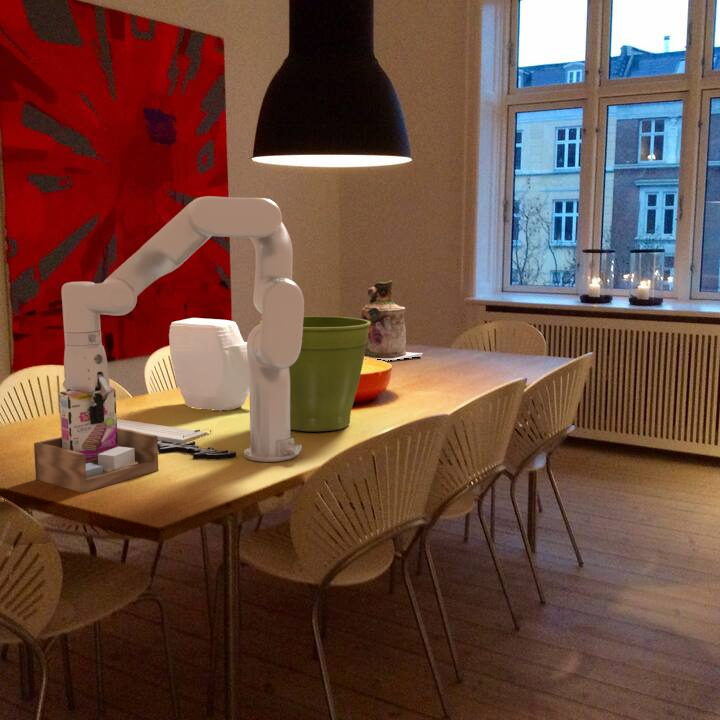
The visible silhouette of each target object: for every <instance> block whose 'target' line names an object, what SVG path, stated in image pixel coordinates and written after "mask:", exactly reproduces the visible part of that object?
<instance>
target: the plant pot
mask: <svg viewBox="0 0 720 720" xmlns="http://www.w3.org/2000/svg"><path fill="white" fill-rule="evenodd" d="M261 323H262V319H261V320H260V321H259V324H261ZM369 326H370V321H367V320H363V319H361V318H355V317H344V316H343V317H342V316H330V315H329V316H327V315H326V316H323V315H322V316H319V315H317V316H316V315H315V316H313V315H311V316H308V315H306V316H305V315H304V318H303V333H302V345H301V351H300V354H299V357H298V359H297V360H296V362H295V363H294V364H293V365H292V366H290V367H289V371H290V427H291V430H293V431H297V432H298V431H299V432H312V433H314V432H315V433H316V432H331V431H336V430H341V429H344V428H346V427H348V426H349V425H350V423H351V415H352V414H351V412H352V409H353V405H354V403H355V402H354V401H355V398H356V395H357V391H358V388H359V383H360V379H361V374H362V369H363V364H364V360H365V359H364V353H365V346H366V344H367V336H368V327H369Z"/></svg>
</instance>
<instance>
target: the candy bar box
mask: <svg viewBox="0 0 720 720" xmlns="http://www.w3.org/2000/svg"><path fill="white" fill-rule="evenodd" d="M109 388H110V390H111V393H110V394H109V395H108V396H107V399H106V400H105V404H104V405H103V406H104V422H102V423H98V424H94V425H93V424H91V421H90V406H92V405H91V401H90V397H89V394H88V393H86V392H81V391H75V390H70V391H66V390H63V391H59V392H58V398H59V416H60V434H61V436H60V437H62V448H64V449H68V450H72V451H76V452H80V453H84V454H85V461H86V460H90V459H94V458H98V454H100V453H103V452H105V451H108V450H110V449H113V448H116V447H118V439H117V419H118V418H117V399H116V388H114V387H111V386H110V387H109ZM95 391H97V389H95ZM94 395H95V399H96V397H97V396H98V394H94Z"/></svg>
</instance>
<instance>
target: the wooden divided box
mask: <svg viewBox="0 0 720 720" xmlns="http://www.w3.org/2000/svg"><path fill="white" fill-rule="evenodd" d="M117 439H118V446H119V447H128V448H134V452H135V462H138V464H136V465H132V466H129V467H125V468H122V469H118V470H114V471H111V472H107V473H104V474H100V475H97V476H93V477H89V478H86V464H87V463H93V464H97V465H98V458H94V459H90V460H86V461H85V454H84V453H80V452H76V451H72V450H68V449H64V448H62V436H59V437H54V438H50V439H47V440H41V441H38V442H34V443H33V451H34V454H33V455H34V469H35V480H36V481H40V482H44V483H47V484H50V485H54V486H58V487H61V488H64V489H67V490H71V491H75V492H78V493H81V494H85V493H88V492H91V491H94V490H98V489H101V488H105V487H108V486H112V485H115V484H119V483H122V482H125V481H128V480H127V479H129V480H131V479H130V478H132V479H135V478H134V477H136V478H138V477H137V476H139V477H141V476H140V475H142V476H145V475H144V474H146V475H149V474H152V473H151V472H153V473H155V471H156V472H158V471H159V449H158V442H157V436H156V435H151V434H147V433H142V432H137V431H133V430H128V429H123V428H119V427H117ZM148 473H149V474H148ZM118 482H119V483H118Z"/></svg>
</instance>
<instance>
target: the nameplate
mask: <svg viewBox="0 0 720 720" xmlns="http://www.w3.org/2000/svg"><path fill="white" fill-rule="evenodd" d="M157 442H158V454H160V453H161V454H168V453H176V452H177V453H184V454H186V453H187V454H188V453H189V454H191V455H192V459H193V460H209V459H215V460H227V459H234V457H235V458H236V457H237V452H236V451H235V450H234V451H233V450H231V451H230V452H229V449H222V450H217V449H214V447H210V446H208V447H207V448H203V447H200V446H199V445H196V441H195V440H192V441H189V442H186V443H183V442H176V441H169V440H161V439H157ZM204 458H205V459H204Z"/></svg>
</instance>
